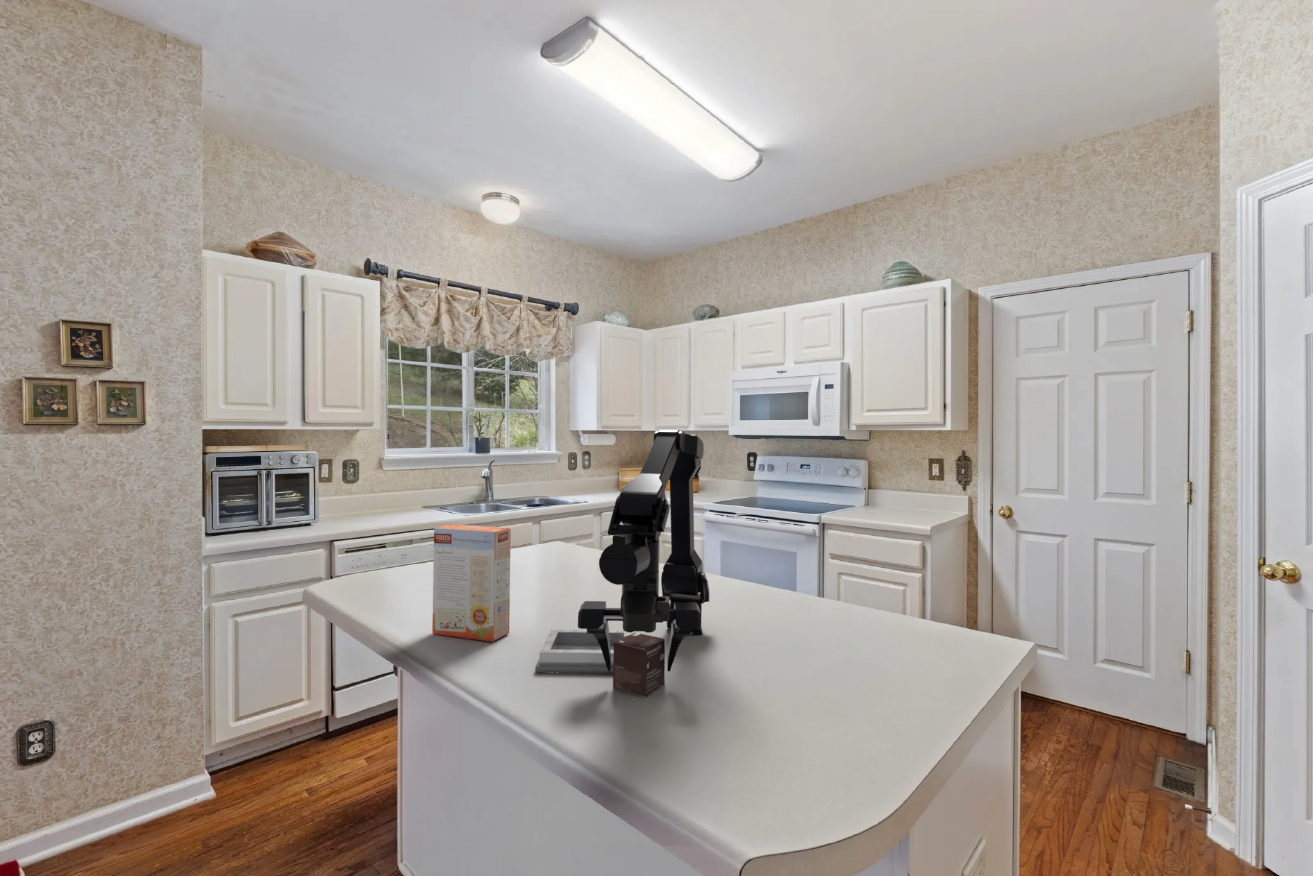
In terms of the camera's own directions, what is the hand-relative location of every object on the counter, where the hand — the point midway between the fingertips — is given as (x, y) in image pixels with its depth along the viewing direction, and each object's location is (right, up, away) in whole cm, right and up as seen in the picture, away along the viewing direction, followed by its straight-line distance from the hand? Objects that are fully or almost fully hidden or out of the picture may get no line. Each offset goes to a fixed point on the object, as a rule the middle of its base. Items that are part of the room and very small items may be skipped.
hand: (639, 670), depth 93 cm
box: (0, -3, 0) cm, 3 cm away
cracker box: (-33, -2, +24) cm, 41 cm away
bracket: (-10, -2, +12) cm, 16 cm away
